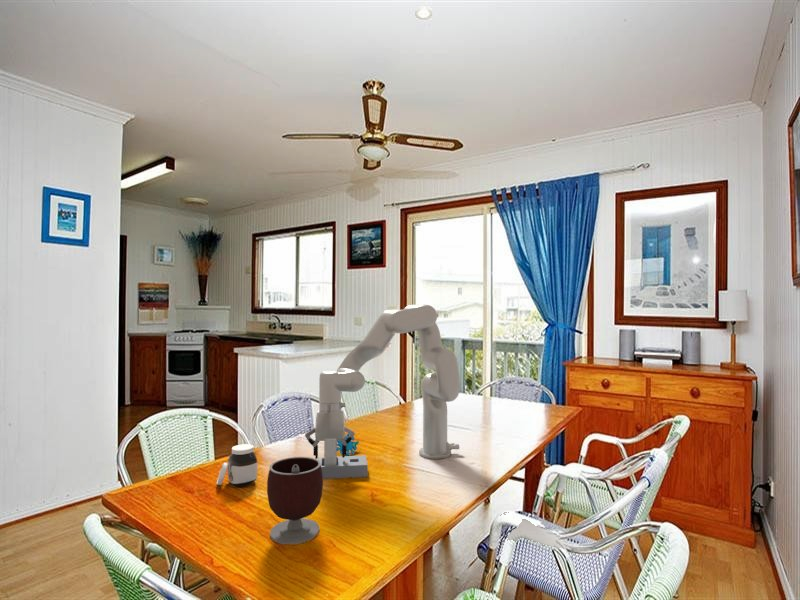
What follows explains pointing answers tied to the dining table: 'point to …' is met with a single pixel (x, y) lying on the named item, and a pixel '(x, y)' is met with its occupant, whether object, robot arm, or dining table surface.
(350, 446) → the gear
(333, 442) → the skincare box
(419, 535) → the dining table surface
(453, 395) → the robot arm
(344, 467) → the stand
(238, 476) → the spread jar
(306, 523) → the mate gourd
